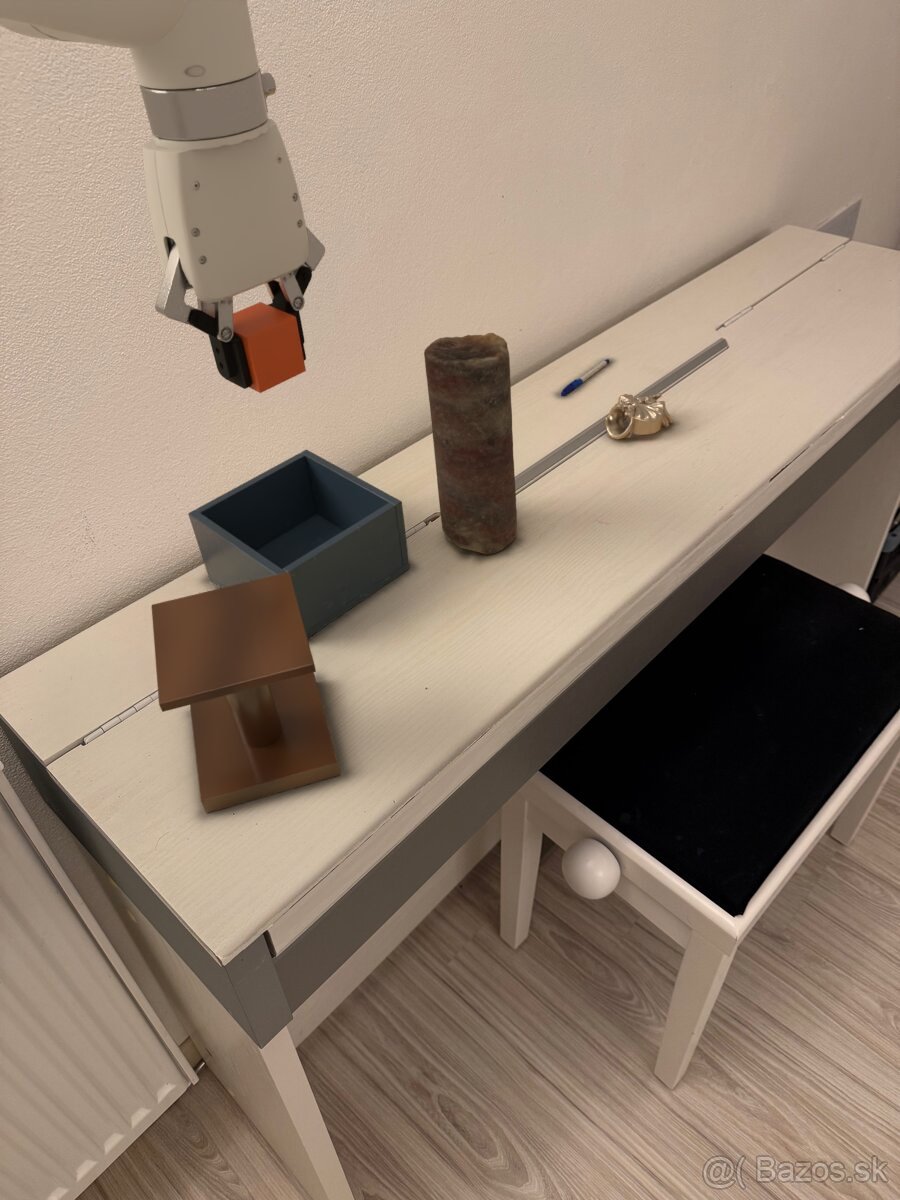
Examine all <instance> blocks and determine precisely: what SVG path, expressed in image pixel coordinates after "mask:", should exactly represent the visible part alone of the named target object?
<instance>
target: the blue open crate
mask: <svg viewBox="0 0 900 1200" xmlns="http://www.w3.org/2000/svg"><path fill="white" fill-rule="evenodd" d="M187 515H188V517H189V520H190V524H191V527H192V530H193V534H194V536H195V539H196V542H197V545H198V548H199V552H200V555H201V558H202V561H203V564H204V567H205V570H206V574H207V576H208V579H209V581H212V583H214V584H215V585H216V586H218V587H219V589H220V588H224V587H228V586H232V585H237V584H241V583H245V582H249V581H253V580H258V579H262V578H266V577H270V576H274V575H278V574H283V573H287V572H289V573H290V576H291V580H292V583H293V587H294V591H295V594H296V598H297V602H298V605H299V609H300V613H301V617H302V620H303V624H304V628H305V631H306V635H307V639H309V638H310V637H312V636H313V635H315V634H316V633H318V632H319V631H320V630H322V629H323V628H325V627H326V626H328V625H329V624H330V623H333V621H335V620H337V619H338V618H339V617H341V616H342V615H344V614H346V613H347V612H348V611H349V610H351V609H352V608H354V607H355V606H357V605H359V604H360V603H361V602H363V601H364V600H366V599H367V598H369V597H370V596H372V595H373V594H374V593H377V591H379V590H380V589H382V588H384V587H385V586H386V585H387V584H389V583H391V582H392V581H393V580H395V579H397V578H398V577H400V576H401V575H402V574H404V573H406V572H407V571H409V570H410V569H411V568H410V559H409V551H408V543H407V542H408V541H407V534H406V533H407V532H406V525H405V516H404V509H403V501H402V500H400V499H398V498H396V497H395V496H393V495H391V494H389V493H387V492H385V491H383V490H381V489H380V488H378V487H376V486H374V485H373V484H371V483H369V482H367V481H365V480H363V479H362V478H361V477H358V476H356V475H354V474H353V473H350V472H349V471H347V470H345V469H344V468H342V467H339V466H338V465H337V464H334V463H332V462H330V461H328V460H327V459H325V458H323V457H322V456H319V455H317V454H316V453H314V452H312V451H311V450H309V449H303V450H302V451H301V452H299V453H297V454H295V455H293V456H291V457H290V458H288V459H286V460H284V461H282V462H280V463H279V464H276V465H275V466H273V467H271V468H269V469H268V470H266V471H263V472H262V473H260V474H258V475H256V476H254V477H253V478H251V479H248V480H247V481H245V482H243V483H242V484H240V485H238V486H236V487H234V488H232V489H231V490H229V491H227V492H225V493H223V494H221V495H220V496H218V497H216V498H213V499H212V500H209V501H208V502H206V503H205V504H203V505H200V506H199V507H197V508H195V509H194V510H191V511H190V512H188V513H187Z"/></svg>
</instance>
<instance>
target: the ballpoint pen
mask: <svg viewBox="0 0 900 1200" xmlns="http://www.w3.org/2000/svg"><path fill="white" fill-rule="evenodd" d="M608 363H610V359H609V358H607V359H604V360H603V361H601V362H600V363H598V364H597V365H595V366H594V367H593V368H592V369H590V370H589V371H588V372H586V373H585V374H583V375H582V376H581V377H580V378H577V379H574V380H573V381H571V382H570V383H568V384H567V385H566V386H564V388H562V391H561V392H560V396H561V397H565V396H567V395H570V393H572V392H573V391H574V390H576V389H577V388H578V387H580V386H581V385H582V384H583V383H585V382H586V381H587V380H588V379H590V378H592V376H594V375H595V374H596V373H598V372H599V371H601V370H602V369H603V368H605V367H606V366H607V365H608Z"/></svg>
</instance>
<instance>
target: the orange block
mask: <svg viewBox="0 0 900 1200" xmlns="http://www.w3.org/2000/svg"><path fill="white" fill-rule="evenodd" d="M233 325H234V335H235V336H237V337H239V338H241V340H242V342H243V346H244V350H245V354H246V358H247V362H248V367H249V371H250V375H251V379H252V385H251V386H250V387H248V389H251V390H253V391H255V392H257V393H259V394H262V393H263V392H266V391H268V390H270V389H272V388H274V387H276V386H278V385H280V384H282V383H285V382H287V381H289V380H290V379H293V378H295V377H297V376H298V375H301V374H302V373H304V372H306V371H307V368H306V364H305V361H304V358H303V353H302V347H301V342H300V337H299V331H298V326H297V321H296V317H295V316H293V315H291V314H288V313H286V312H283V311H281V310H279V309H276V308H274V307H271V306H269V305H268V304H266V303H264V302H262V301H259V302H257V303H255V304H252V305H249V306H248V307H245V308H243V309H240V310H238V311H236V312H233Z"/></svg>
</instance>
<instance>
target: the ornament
mask: <svg viewBox="0 0 900 1200" xmlns="http://www.w3.org/2000/svg"><path fill="white" fill-rule="evenodd" d="M661 397H662V392H657V393H654V394H650V395H649V396H646V395H645V396H643V397H642V396H636V397H634V395H633V394H628V393H625V394H620V396H618V398H617V399H618V402H617V403H615V404H614V405H613V406H612V407H611V409H610V411H609V413H608V416H607V417H605V419H604V427H605V431H606V433H607V435H608V436H609V437H610V438H612V439H614V440H621V439H629V438H631V437H632V434H635V435H641V436H642V435H652V434H656V433H657V432H659V431H660V430H661V429H662V427H666V428H667V427H669V425H671V424H673V423H674V422H675V419H674V418H673V417H672V415H671V414H670V413H669V412H668V410H667V407H666V402H665V400H660V401H657V400H659V399H660V398H661ZM625 420H627V421H628V422H629V423H628V425H627V427H626V428H624V421H625Z"/></svg>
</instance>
